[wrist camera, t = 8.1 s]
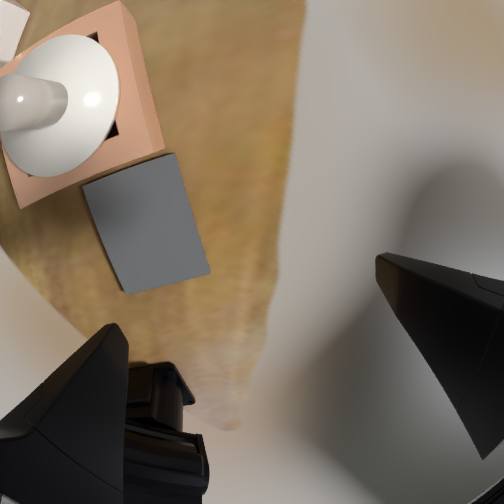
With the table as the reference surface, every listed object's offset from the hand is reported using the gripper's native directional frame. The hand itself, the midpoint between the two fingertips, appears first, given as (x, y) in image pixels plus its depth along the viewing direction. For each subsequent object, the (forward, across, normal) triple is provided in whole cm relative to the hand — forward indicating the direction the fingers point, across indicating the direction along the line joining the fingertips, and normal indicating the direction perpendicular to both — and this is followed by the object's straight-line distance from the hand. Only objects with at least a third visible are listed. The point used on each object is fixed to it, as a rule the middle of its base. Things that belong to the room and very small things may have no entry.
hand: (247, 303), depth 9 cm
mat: (+12, +6, 0) cm, 13 cm away
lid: (+8, +8, -10) cm, 15 cm away
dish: (+12, +8, -10) cm, 18 cm away
